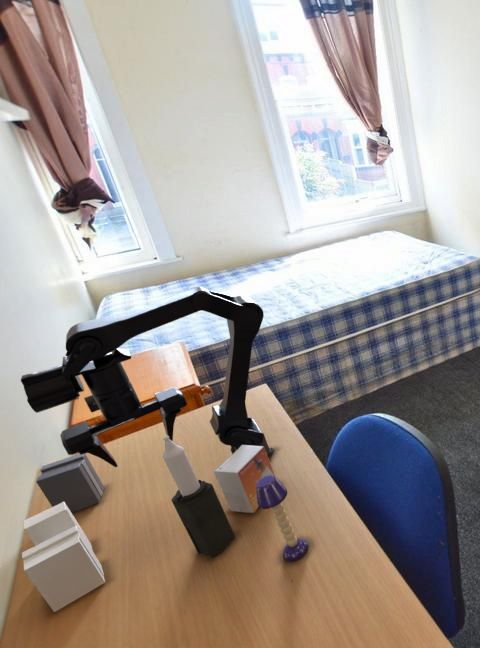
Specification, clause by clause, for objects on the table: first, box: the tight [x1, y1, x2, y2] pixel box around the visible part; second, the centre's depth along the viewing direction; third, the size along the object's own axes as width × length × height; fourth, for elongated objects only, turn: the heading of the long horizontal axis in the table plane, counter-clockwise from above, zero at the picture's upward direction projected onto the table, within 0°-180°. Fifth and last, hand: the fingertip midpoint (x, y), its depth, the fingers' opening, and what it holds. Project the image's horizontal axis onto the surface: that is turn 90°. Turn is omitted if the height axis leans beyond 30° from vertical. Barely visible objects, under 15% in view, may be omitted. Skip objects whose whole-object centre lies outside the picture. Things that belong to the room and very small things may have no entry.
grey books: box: [35, 453, 105, 514], centre depth 99 cm, size 7×5×10 cm
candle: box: [162, 435, 236, 558], centre depth 82 cm, size 5×5×25 cm
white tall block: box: [22, 502, 94, 552], centre depth 85 cm, size 6×3×11 cm, turn 137°
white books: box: [21, 526, 106, 613], centre depth 79 cm, size 7×5×10 cm
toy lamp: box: [256, 475, 309, 562], centre depth 81 cm, size 5×5×17 cm
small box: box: [213, 445, 276, 514], centre depth 95 cm, size 8×6×10 cm
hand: (144, 452), depth 93 cm, fingers open, 9 cm apart
